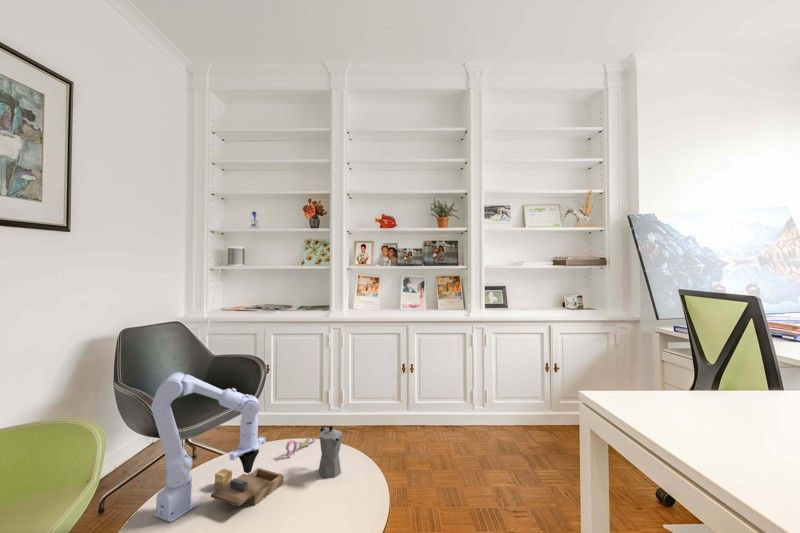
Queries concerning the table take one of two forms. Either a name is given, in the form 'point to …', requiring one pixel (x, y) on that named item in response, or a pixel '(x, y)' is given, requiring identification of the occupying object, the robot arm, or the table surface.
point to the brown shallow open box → (274, 483)
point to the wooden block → (223, 478)
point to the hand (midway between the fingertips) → (247, 471)
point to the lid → (240, 489)
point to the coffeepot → (330, 452)
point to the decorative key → (297, 445)
